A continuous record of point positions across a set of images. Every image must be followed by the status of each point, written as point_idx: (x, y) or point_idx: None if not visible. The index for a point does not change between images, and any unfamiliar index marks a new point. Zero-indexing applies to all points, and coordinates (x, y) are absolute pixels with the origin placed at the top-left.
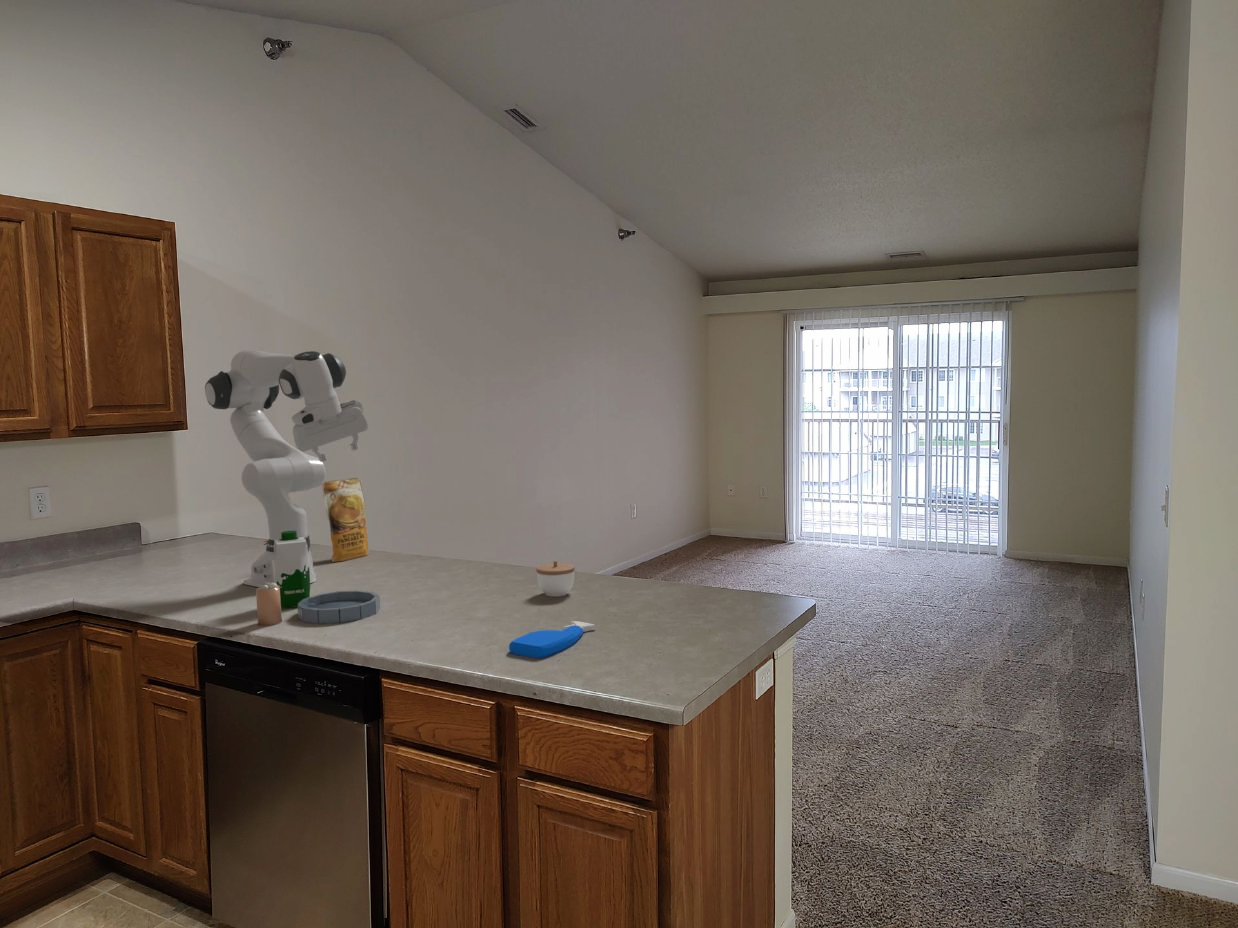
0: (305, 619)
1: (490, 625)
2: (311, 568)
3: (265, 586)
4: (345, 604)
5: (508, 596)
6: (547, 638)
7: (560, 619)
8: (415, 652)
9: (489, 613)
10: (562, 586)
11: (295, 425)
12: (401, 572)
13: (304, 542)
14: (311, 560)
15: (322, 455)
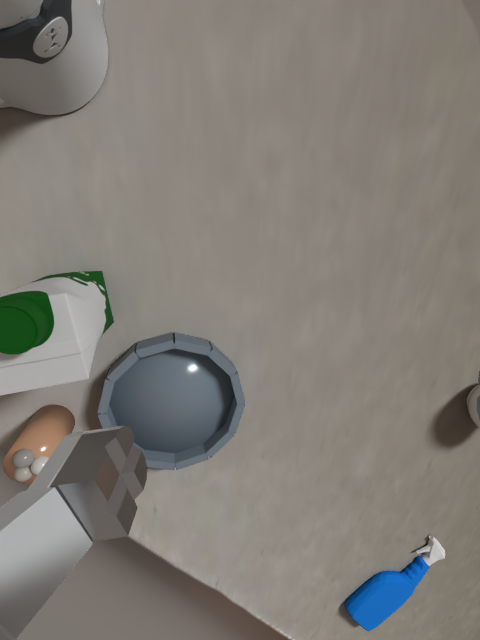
0: None
1: (357, 515)
2: (90, 46)
3: (25, 480)
4: (184, 378)
5: (424, 387)
6: (384, 609)
7: (430, 510)
8: (258, 590)
9: (372, 466)
10: None
11: None
12: (318, 77)
13: (83, 379)
14: (84, 2)
15: (100, 539)
